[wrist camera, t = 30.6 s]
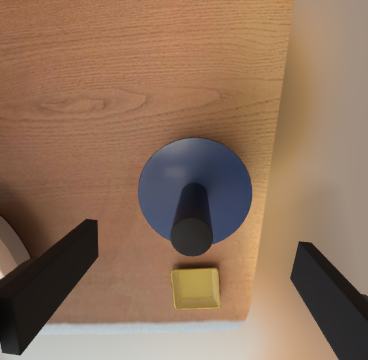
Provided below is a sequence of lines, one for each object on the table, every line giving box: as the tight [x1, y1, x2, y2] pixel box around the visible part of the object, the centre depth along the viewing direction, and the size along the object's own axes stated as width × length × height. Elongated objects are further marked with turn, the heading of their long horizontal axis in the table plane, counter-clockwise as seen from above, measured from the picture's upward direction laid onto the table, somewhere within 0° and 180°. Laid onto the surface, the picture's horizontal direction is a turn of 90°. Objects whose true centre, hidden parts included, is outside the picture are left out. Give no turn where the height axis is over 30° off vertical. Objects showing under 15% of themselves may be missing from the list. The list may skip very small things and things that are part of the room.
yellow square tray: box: [171, 267, 220, 310], centre depth 40 cm, size 9×9×2 cm
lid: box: [138, 137, 252, 256], centre depth 21 cm, size 14×14×11 cm
